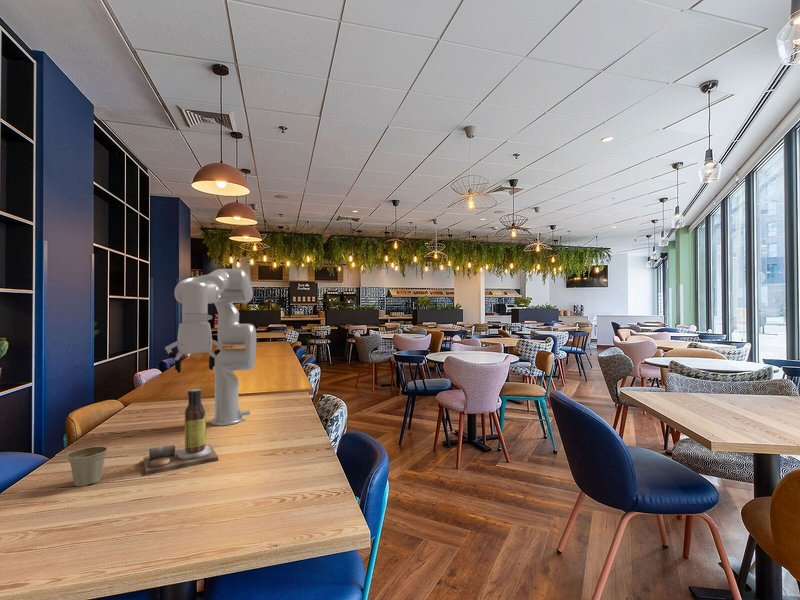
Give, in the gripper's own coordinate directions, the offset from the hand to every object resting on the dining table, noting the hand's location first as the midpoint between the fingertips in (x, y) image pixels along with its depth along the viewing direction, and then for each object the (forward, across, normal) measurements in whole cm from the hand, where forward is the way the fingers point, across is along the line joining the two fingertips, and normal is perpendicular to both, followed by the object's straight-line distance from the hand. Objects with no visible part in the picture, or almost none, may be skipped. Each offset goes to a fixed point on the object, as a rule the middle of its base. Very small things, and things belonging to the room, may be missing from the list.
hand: (195, 370), depth 136 cm
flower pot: (+29, +28, +4) cm, 40 cm away
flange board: (+29, +4, +1) cm, 29 cm away
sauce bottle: (+26, 0, 0) cm, 27 cm away
